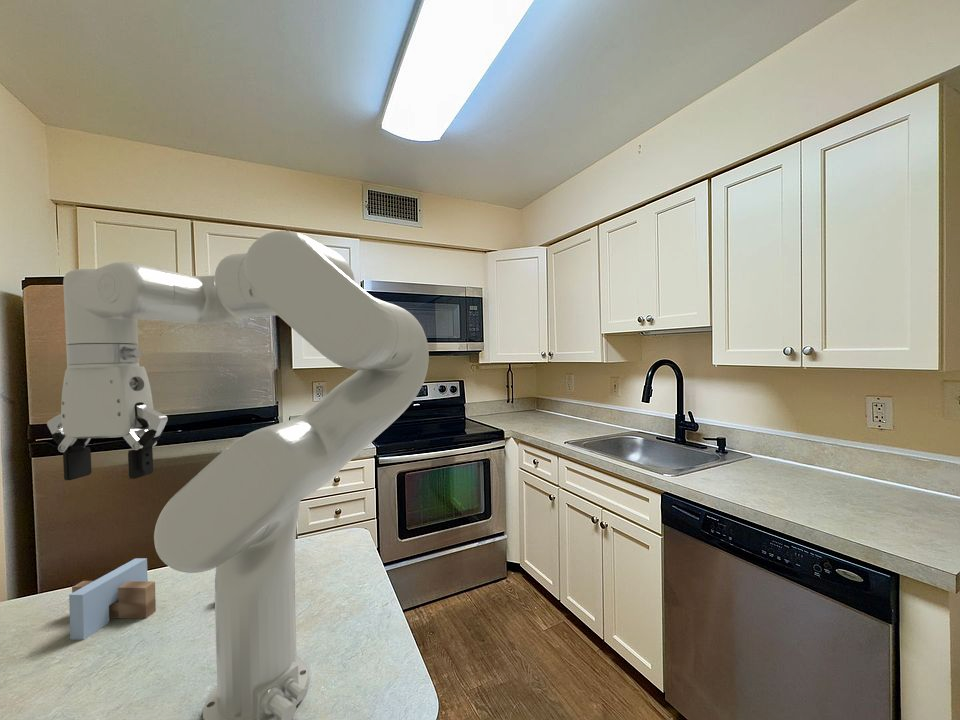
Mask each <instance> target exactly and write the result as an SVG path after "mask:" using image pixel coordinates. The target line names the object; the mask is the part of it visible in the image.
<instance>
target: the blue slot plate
mask: <svg viewBox="0 0 960 720" xmlns="http://www.w3.org/2000/svg"><path fill="white" fill-rule="evenodd" d="M148 580H149V579H148V557H147V558H144V557H143V558H142V557H141V558H139V557H138V558H133V559H131V560H130V561H128V562H126V563H125V564H122V565H121V566H118V567H117V568H115V569H114V570H111V571H109V572H108V573H106V574H104V575H102V576H101V577H98V578H97V579H95V580H92V581H93V582H91V583H90V584H88V585H86V586H84V587H82V588H80V589H79V590H77V591H75V592H73V593H72V592H70V593H69V595H68V599H69V600H68V603H69V605H68V606H69V635H70V638H69V639H70V640H83V641H84V640H86V639H87V638H88V637H90V636H91V635H93V634H94V633H95V632H98V631H99V630H100V629H102V628H103V627H105V626H107V625H108V624H109V623H110V618H109V605H111V604H112V603H114V602H115V601H117V600H118V587H120V586H121V585H123V584H125V583H126V582H128V581H148ZM148 582H149V581H148Z"/></svg>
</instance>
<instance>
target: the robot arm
mask: <svg viewBox="0 0 960 720" xmlns="http://www.w3.org/2000/svg"><path fill="white" fill-rule="evenodd" d="M62 284H63V285H62V286H63V304H64V306H63V307H64V324H65V325H64V327H65V330H64V331H65V347H66V348H65V349H66V369H65V370H64V371H65V372H64V377H63V383H62V391H61V400H60V401H61V406H60V412H61V413H59V414H57V415H55V416H54V417H52V418H50V419H49V420H47V422H46V425H47V428H48V429H49V431H50V433H51V435H52V441H54V443H56V444H57V445H58V447H57V450H58V452H60V453H62V458H63V459H62V460H63V478H64V480H65V481H72V480H76V479H80V478H83V477H87V476H90V475H91V474H92V453H91V452H92V451H91V447H87V445H88V444H89V443H90V441H91V439H106V438H107V439H108V438H111V439H112V438H123V439H124V440H125V441H126V443H127V445H129V446H130V447H131V450H128V453H127V456H128V457H127V458H128V463H127V464H128V477H129V479H131V480H135V479H139V478H142V477H145V476H148V475H151V474H153V472H154V456H153V455H154V454H153V447H154V446H156V445H157V444H158V441H159V439H161V438H160V437H162V436H163V433H164V429H165V426H166V425H167V422H168V419H169V418H168V416H167V415H166V414H164V413H161V412H159V411H158V410H155V409H154V403H153V402H154V401H153V395H152V389H151V384H150V380H149V378H148V377H149V376H148V374H147V370H146V368H145V366H144V365H143V366H140V358H141V357H142V356H143V351H142V349H141V348H139V338H138V337H139V332H138V331H139V330H138V320H143V321H145V320H146V321H157V322H158V321H160V322H169V323H177V324H178V323H179V324H211V323H225V322H227V323H228V322H235V321H241V320H245V319H248V318H257V317H259V318H260V317H271V316H274V317H275V316H277V317H278V318H280V319H281V320H282V321H284V323H286V324H287V325H288V326H289V327H290V328H291V329H292V330H294V331H295V332H296V333H297V334H298V335H299V336H301V338H303V340H305V341H306V342H307V343H309V345H311V346H312V347H313V348H314V349H315V350H317V352H318V353H320V354H321V355H322V356H323V357H325V359H327V360H328V361H330V362H332V363H334V364H336V365H337V366H339V367H341V368H345V369H349V370H351V371H356V372H355V373H353V374H352V375H350V376H348V377H347V378H345V380H343V381H342V382H340V383H339V384H338V385H336V386H335V387H334V388H333V389H332V390H330V392H329V393H327V394H326V396H324V397H323V398H322V399H321V400H319V402H317V403H316V404H315V405H314V406H312V407H311V408H310V409H309V410H307V411H306V412H305V413H303V414H302V415H299V416H297V417H296V418H292V419H289V420H286V421H283V422H280V423H276V424H272V425H268V426H265V427H261V428H259V429H256V430H253V431H251V432H249V433H247V434H246V435H244V436H241V437H240V438H238V439H237V440H235V441H234V442H233V443H230V445H229V446H227V447H226V448H225V449H224V450H223V451H221V452H220V453H219V454H218V455H217V456H216V457H214V459H212V460H211V461H210V462H209V463H208V464H207V465H206V466H204V468H202V469H201V470H200V471H199V472H198V473H197V474H196V475H195V476H194V477H192V478H191V479H190V480H189V481H188V482H187V483H186V484H185V485H184V486H182V487H181V488H180V489H179V490H178V491H177V492H176V493H174V495H173V496H172V497H171V498H170V499H169V500H168V501H167V503H166V504H165V505H164V507H163V508H162V509H161V512H160V513H159V516H158V518H157V520H156V523H155V528H154V533H153V541H154V542H153V543H154V548H155V551H156V554H157V556H158V557H159V559H160V560H161V561H162V563H164V564H165V565H166V566H168V567H169V568H171V569H172V570H175V571H178V572H181V573H186V574H196V573H204V572H207V571H211V570H213V569H215V574H214V575H215V577H214V614H215V615H214V616H215V651H216V652H215V654H216V655H215V659H216V685H215V686H214V688H212V691H211V692H210V693H209V694H208V696H207V698H206V700H205V702H204V705H203V709H202V719H203V720H292V719H293V718H294V717H295V715H296V712H297V705H299V703H300V702H302V701H304V700H305V697H306V696H307V693H308V688H309V683H310V669H309V667H308V664H307V662H306V661H305V660H304V659H303V658H301V657H299V656H297V653H298V652H297V622H296V621H297V619H296V618H297V615H296V613H297V611H296V610H297V609H296V578H295V577H296V557H295V556H296V539H297V537H296V535H297V527H298V521H299V514H300V508H301V501H302V500H304V499H305V498H307V497H308V496H310V495H312V494H313V493H315V492H316V491H318V490H319V489H321V488H322V487H323V486H325V485H326V484H328V483H329V482H330V481H331V480H332V479H333V478H334V477H335V476H336V475H337V474H338V473H339V472H340V471H341V470H342V469H344V467H346V465H348V463H350V462H351V461H352V460H353V459H354V458H356V456H357V455H359V454H360V453H361V452H362V451H363V450H365V449H366V448H367V447H368V446H369V445H371V443H373V441H374V440H375V439H376V438H378V437H379V435H381V434H382V433H383V432H384V431H385V430H387V429H388V428H389V427H390V426H392V424H393V423H394V422H395V421H396V420H398V418H400V416H401V415H402V414H404V413H405V411H406V410H407V409H408V408H409V407H410V405H411V404H412V403H413V402H414V400H415V399H416V397H417V396H418V394H419V392H420V390H421V389H422V387H423V385H424V383H425V380H426V377H427V373H428V368H429V360H430V359H429V358H430V355H429V344H428V339H427V336H426V333H425V331H424V328H423V326H422V324H421V323H420V322H419V320H418V319H417V317H415V316H414V315H413V314H412V313H411V312H410V311H408V310H406V309H405V308H403V307H401V306H399V305H396V304H394V303H391V302H387V301H384V300H381V299H380V298H377V297H374V296H373V295H371V294H370V293H369V292H367V291H366V290H365V289H364V288H363V287H361V286H360V285H359V284H358V283H356V280H355V276H354V273H353V270H352V267H351V266H350V264H349V263H348V262H347V260H346V259H345V258H344V257H343V256H342V255H340V254H339V253H338V252H336V251H335V250H333V249H332V248H329V247H327V246H325V245H324V244H322V243H320V242H317V241H316V240H315V239H312V238H310V237H309V236H307V235H304V234H302V233H299V232H296V231H292V230H275V231H271V232H268V233H265V234H264V235H262V236H260V237H258V239H256V240H254V242H253V243H252V244H251V246H249V248H248V250H247V252H246V253H233V254H230V255H227V256H225V257H224V258H223V259H221V260H220V261H219V263H218V264H217V266H216V268H215V272H214V274H213V275H200V276H198V275H189V274H183V273H180V272H176V271H172V270H168V269H163V268H159V267H153V266H150V265H145V264H143V263H136V262H130V261H117V262H113V263H109V264H105V265H103V266H100V267H97V268H95V269H94V268H78V269H73V270H69V271H67V272H66V273H65V275H64V277H63V281H62Z"/></svg>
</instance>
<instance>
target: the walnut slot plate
mask: <svg viewBox="0 0 960 720" xmlns="http://www.w3.org/2000/svg"><path fill="white" fill-rule="evenodd" d="M93 581H94V580H82V581H80V582H79V583H77V584H75V585H72V586H71V593H73V592H75V591H77V590H79V589H80V588H82V587H84V586H86V585H88V584H90V583H91V582H93ZM156 601H157V600H156V581H128V582H126V583H125V584H123V585H121V586H120V587H118V600H117V601H115V602H114V603H112V604H111V605H109V619H111V618H112V619H118V618H119V619H147V618H149V617H151V616H152V615H153V614H154V613H155V612H157V611H156V610H157V608H156V607H157V603H156Z"/></svg>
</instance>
